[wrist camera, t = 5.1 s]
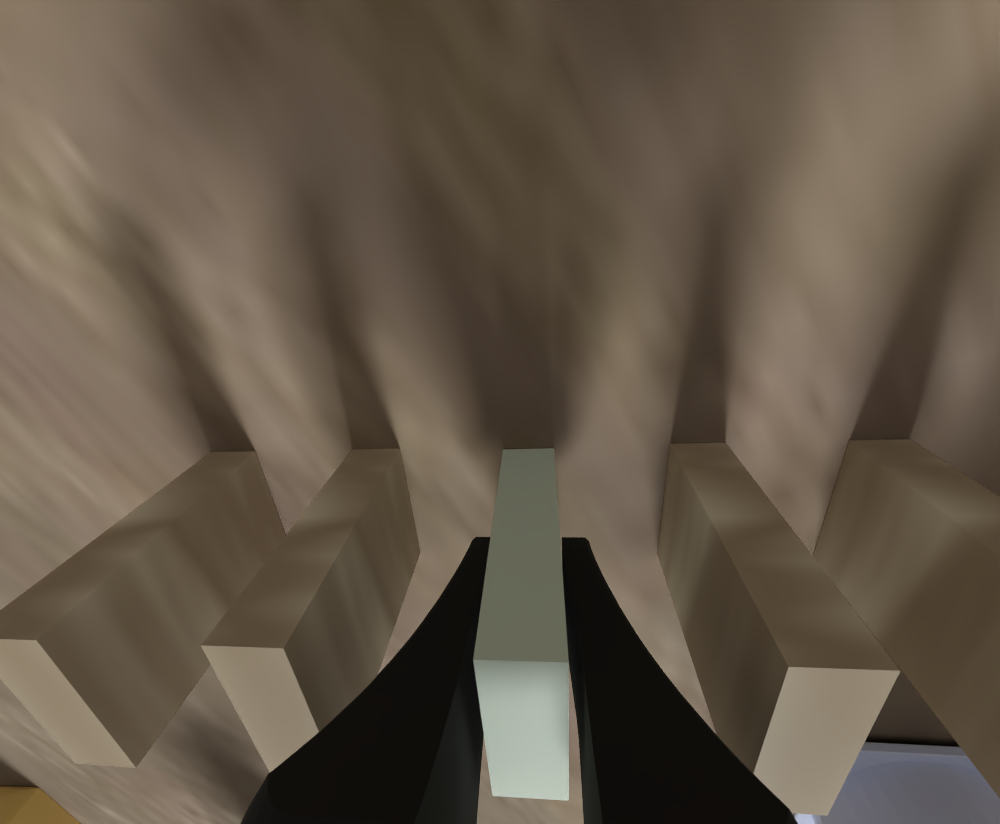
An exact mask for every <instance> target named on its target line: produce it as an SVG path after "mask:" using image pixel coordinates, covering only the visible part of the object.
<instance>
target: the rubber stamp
mask: <svg viewBox="0 0 1000 824" xmlns="http://www.w3.org/2000/svg"><path fill="white" fill-rule="evenodd" d="M0 824H81V823H79V822H78V821H77V820H76V819H75V818H74V817H72V816H71V815H70V814H69V813H68V812H67V811H66V810H64V809H63V808H62V807H61V806H60V805H59V804H57V803H56V802H55V801H54V800H53V799H52V798H50V797H49V796H48V795H47V794H46V793H45V792H43V791H42V790H41V789H40V788H38V787H0Z"/></svg>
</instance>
